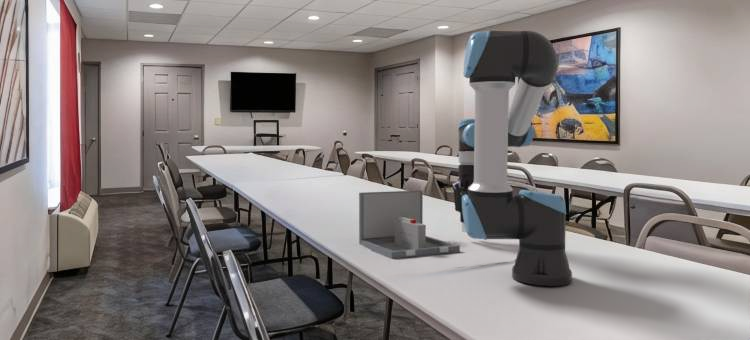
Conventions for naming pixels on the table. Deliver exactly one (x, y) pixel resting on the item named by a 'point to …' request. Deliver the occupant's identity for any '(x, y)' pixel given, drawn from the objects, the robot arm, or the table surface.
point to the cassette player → (410, 234)
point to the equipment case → (393, 222)
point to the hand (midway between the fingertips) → (468, 231)
